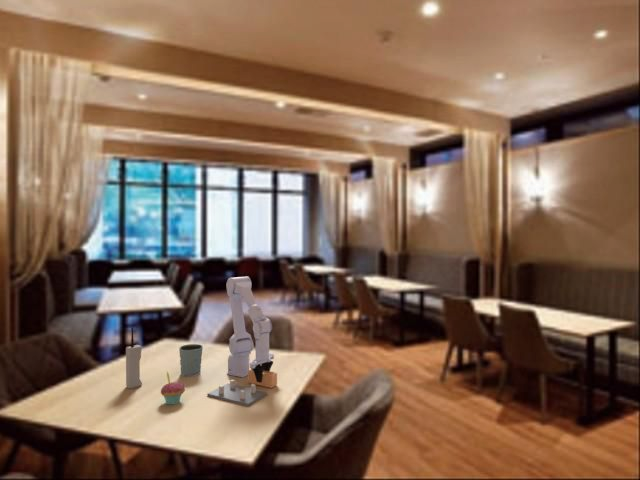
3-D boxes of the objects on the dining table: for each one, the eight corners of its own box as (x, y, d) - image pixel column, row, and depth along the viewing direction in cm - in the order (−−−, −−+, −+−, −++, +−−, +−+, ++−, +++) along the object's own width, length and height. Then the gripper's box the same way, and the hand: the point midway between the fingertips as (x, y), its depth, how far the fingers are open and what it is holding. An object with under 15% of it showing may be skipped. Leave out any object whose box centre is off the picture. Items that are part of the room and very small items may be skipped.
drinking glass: (174, 375, 182) (174, 348, 181) (189, 367, 191) (189, 342, 191) (192, 378, 178) (192, 351, 177) (207, 370, 187) (207, 345, 187)
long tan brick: (248, 382, 172) (248, 365, 171) (253, 379, 175) (254, 362, 175) (271, 387, 166) (271, 370, 166) (276, 384, 170) (277, 367, 169)
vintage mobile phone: (142, 385, 169) (141, 326, 168) (130, 389, 165) (129, 328, 164) (138, 383, 171) (137, 325, 171) (126, 386, 167) (125, 327, 167)
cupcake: (162, 408, 148) (161, 375, 147) (159, 399, 155) (159, 368, 155) (186, 403, 152) (186, 372, 151) (182, 395, 159) (182, 365, 159)
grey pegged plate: (207, 396, 158) (207, 386, 158) (227, 385, 169) (227, 376, 169) (248, 406, 149) (248, 395, 149) (266, 394, 160) (266, 384, 160)
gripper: (259, 354, 162) (259, 387, 162) (279, 345, 175) (279, 376, 175) (245, 351, 165) (245, 384, 166) (266, 343, 178) (266, 373, 178)
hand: (262, 380), depth 171 cm, fingers closed on long tan brick, 4 cm apart
